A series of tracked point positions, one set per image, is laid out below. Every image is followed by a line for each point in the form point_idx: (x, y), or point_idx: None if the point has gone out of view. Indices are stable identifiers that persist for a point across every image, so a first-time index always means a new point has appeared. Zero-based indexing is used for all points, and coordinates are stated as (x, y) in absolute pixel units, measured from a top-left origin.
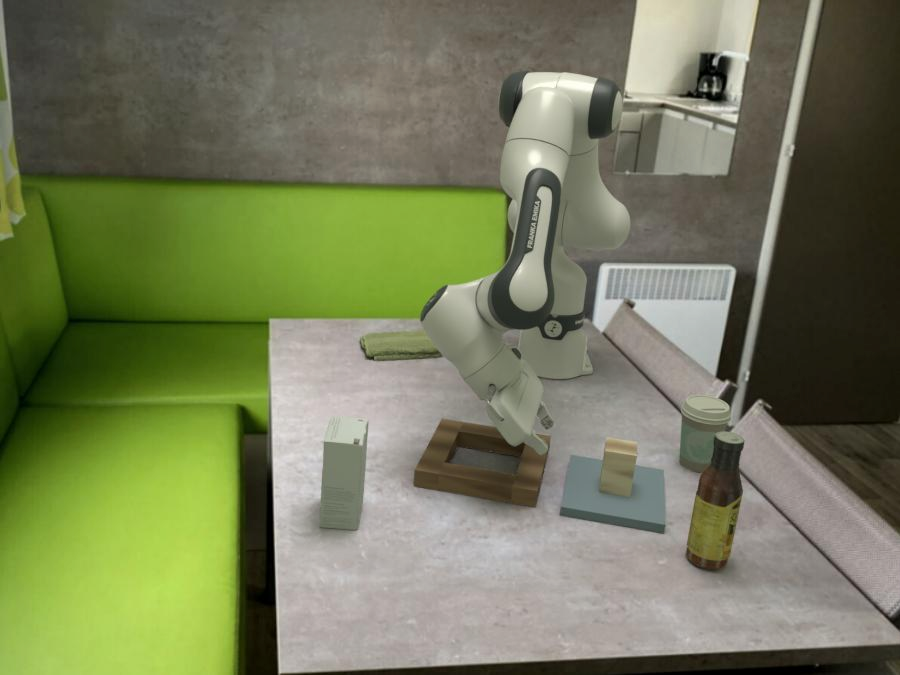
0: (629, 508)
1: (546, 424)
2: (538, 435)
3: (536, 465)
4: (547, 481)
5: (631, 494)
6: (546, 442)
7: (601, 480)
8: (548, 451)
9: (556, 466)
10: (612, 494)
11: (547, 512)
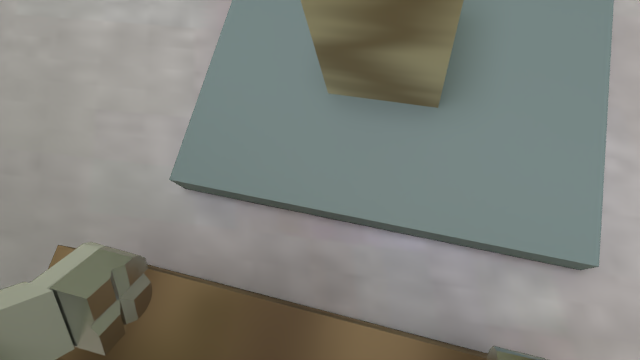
0: (535, 19)
1: (122, 304)
2: None
3: (318, 350)
4: (324, 287)
5: None
6: None
7: (444, 78)
8: None
9: (213, 239)
10: None
11: (571, 320)
